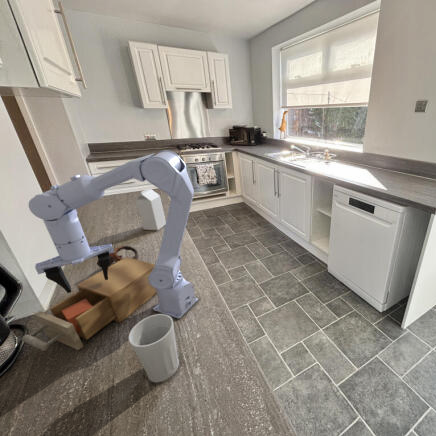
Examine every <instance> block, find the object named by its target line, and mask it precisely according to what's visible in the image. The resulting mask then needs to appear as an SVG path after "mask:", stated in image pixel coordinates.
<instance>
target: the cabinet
mask: <svg viewBox="0 0 436 436" xmlns="http://www.w3.org/2000/svg"><path fill="white" fill-rule="evenodd" d="M155 264H156V263H151V262H148V261H144V260H139V259H138V260H136V259H132V257H128V256H125V257H124V258H123V259H122V260H120V261H118V262H114V263H112V264H111V266H109V267H108V280H105V278H104V275H103V270H102V269H101V270H100V271H99V272H97V273H95V274H94V275H92V276H90V277H88V278H87V279H85V280H83V281H81V282H79V283H78V284H76V288H77V290H78V291H79V290H81V289H83V290H86V291H89V292H92V293H95V294H98V295H101V296H104V297H107V298H109V300H110V303H111V305H112V308H113V310H114V313H115V316H116V318H115V319H113V320H112V321H114V322H117V323H121V322H123V321H124V320H125V319H127V318H128V317H129V316H130V315H132V314H133V313H134V312H136V311H137V310H138V309H139V308H140V307H142V306H143V305H144V304H145V303H147V302H148V301H149V300H150V299H151V298H152V297H154V296H155V295H157V293H156V290H155V288H154V287H152V286H151V285H150V284H149V282H148V276H149V274H150V273H151V272H152V270H153V268H154V266H155Z"/></svg>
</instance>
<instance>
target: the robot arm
mask: <svg viewBox="0 0 436 436" xmlns="http://www.w3.org/2000/svg"><path fill="white" fill-rule="evenodd" d="M69 178H70V181H68V182H64V183H63V184H60V185H59V184H55V185H53V186H50V189H49V190H46V191H44V192H42V193H39V194H35V195H34V197H31V199H30V200H29V201H28V208H29V211H30V212H31V214H33V215H34V217H36V218H39V219H40V220H42V221H43V223H44V226H45V227H46V230H47V232H48V235H49V237H50V239H51V240H52V243H53V245H54V247H55V250H56V252H57V253H58V255H57V256H54V257H52V258H49V259H46V260H44V261H40V262H37V263H35V265H34V268H35V271H36V273H37V274H38V275H41V274H42V275H43V274H44V275H45V278H46V279H47V280H50V281H52V282H54V283H56V284H57V285H59V286H60V287H61V288H62V289H63V290H64V291H65V292H66V293H67V294H70V293H72V286H71V284H70V282H69V281H68V279H67V277H66V275H65V272H64V270H63V268H62V267H65V266H68V265H72V266H75V265H80V264H82V263H84V261H87V260H89V259H93V258H96V257H97V261H98V260H99V263H100V265H101V267H100V269H101V271H102V270H103V275H104V278H105V280H108V266H109V262H110V254H111V253H114V250H115V249H114V247H113V244H112V243H108V244H103V245H102V244H101V245H95V246H90V244H89V242H88V239H87V236H86V235H85V233H84V229H83V227H82V224H81V221H80V219H79V216H78V213H79V212H78V211H77V209H80V208H82V207H84V206H86V205H88V204H91V203H93V202H95V201H97V200H98V201H99V200H100V199H102V198H104V196H105V193H106V192H105V191H106V190H107V189H111V188H113V187H116V186H117V185H121V184H123V183H125V182H128V181H131V180H133V179H134V180H137V181H139V182H141V183H143V182H146V181H147V182H148V183H149V184H151V185H153V186H154V187H156V188H157V189H159V190H160V191H162V192H164V193H165V194H166V195H167V196H168V197H169V198H170V201H169V205H168V211H167V215H166V218H165V221H166V224H165V225H164V230H163V233H162V234H163V235H162V238H161V243H160V248H159V251H158V256H157V258H156V261H155V263H154V264H155V266H154V268H153V270H152V272H151V273H150V274H149V276H148V282H149V284H150V285H151V286H152V287H154V288H155V290H156V296H157V301H158V304H156V305H155V306H154V307H153V308H152V309H153V310H152V311H154V312H157V313H159V314H165V315H168V316H170V317H171V318H175V319H181V318H182V317H183V316H184V315H185V314H186V313H187V312H188V311H189V310H190V309H191V308H192V307H193V306H194V305H195V304H196V303H197V302H198V300H199V298H198V297H196V293H195V289H194V285H193V283H191V282H189V281H188V280H186V278H184V276H183V274H182V271H181V270H180V267H181V265H182V262H183V260H182V257H181V252H182V251H181V248H182V245H183V244H182V243H183V241H184V235H185V231H186V227H187V224H188V219H189V216H190V212H191V207H192V203H193V199H194V195H195V190H194V187H193V186H194V185H193V183H192V181H191V178H190V176H189V173H188V170H187V163H185V162H184V160H183V159H182V158H181V157H180V156H179V155H178V154H177V153H176V152H174V151H172V150H166V149H165V150H160V151H157V153H156V154H155V153H151V154H147V155H143V156H140V157H138V158H134V159H131V160H130V161H127V162H126V163H123V164H121V165H119V166H117V167H115V168H113V169H111V170H108V171H106V172H105V173H102V174H100V175H98V176H93V175H89V174H83V175H80V174H76V175H73V176H71V177H69Z"/></svg>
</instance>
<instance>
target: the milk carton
mask: <svg viewBox="0 0 436 436" xmlns="http://www.w3.org/2000/svg"><path fill="white" fill-rule="evenodd" d="M135 202H136V206H137V209H138V213H139V217H140V221H141V224H142V228H143V230H146V231H147V230H148V231H159V230H161V229H162V228H164V227H165V224H166V218H165V211H164V207H163V202H162V199H161V195H160V194H159V193H157V192H156V191H155V190H153V188H152V186H150V187H148V188H147V189H144V190H142V191H140V193H139V196H138V197H137V198H136V199H135Z"/></svg>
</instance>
